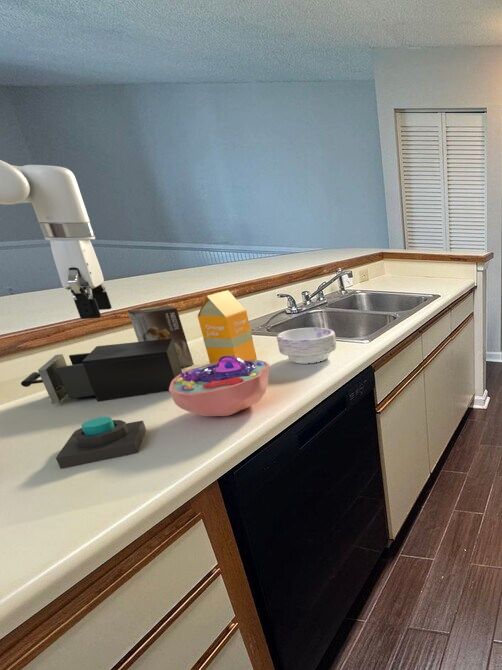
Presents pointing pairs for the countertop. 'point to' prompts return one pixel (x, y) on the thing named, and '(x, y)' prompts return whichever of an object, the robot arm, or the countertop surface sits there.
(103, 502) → the countertop surface
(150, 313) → the coffee box
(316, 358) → the paper bowls
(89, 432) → the button
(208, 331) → the orange juice
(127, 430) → the control block
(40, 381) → the drawer
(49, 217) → the robot arm
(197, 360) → the countertop surface
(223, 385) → the cell model
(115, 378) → the cabinet
